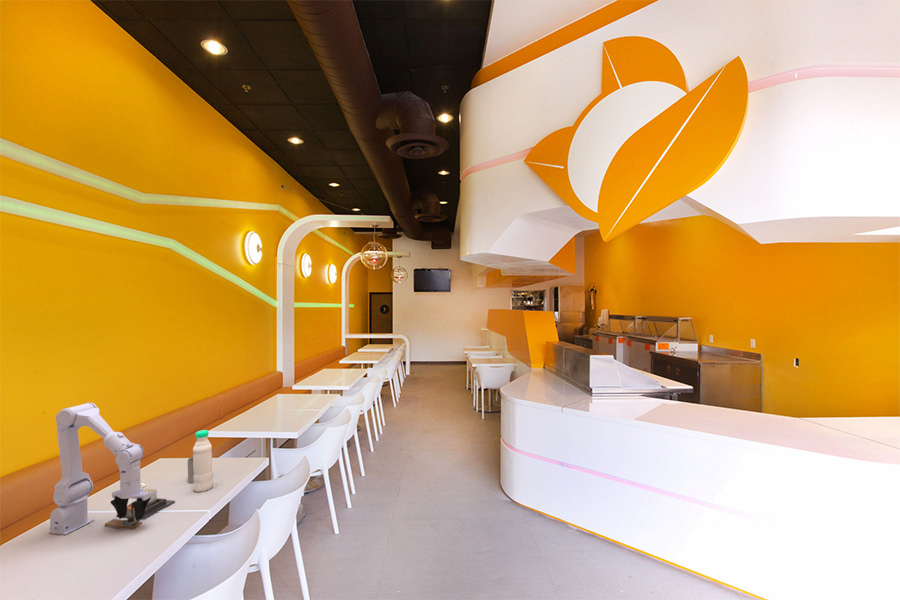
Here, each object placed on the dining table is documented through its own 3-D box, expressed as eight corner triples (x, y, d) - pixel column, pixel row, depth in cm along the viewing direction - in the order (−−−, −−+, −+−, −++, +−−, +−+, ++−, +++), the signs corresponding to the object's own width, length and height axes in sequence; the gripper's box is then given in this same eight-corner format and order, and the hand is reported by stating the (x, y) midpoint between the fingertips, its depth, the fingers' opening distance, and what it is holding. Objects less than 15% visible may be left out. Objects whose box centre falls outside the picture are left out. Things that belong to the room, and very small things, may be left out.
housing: (146, 510, 153) (145, 492, 153) (136, 509, 154) (136, 492, 154) (157, 504, 157) (156, 487, 157) (147, 504, 158) (147, 486, 158)
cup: (190, 478, 184) (189, 456, 184) (210, 474, 188) (210, 453, 188) (186, 485, 177) (186, 462, 177) (208, 481, 180) (207, 459, 180)
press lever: (130, 526, 141) (129, 506, 141) (122, 525, 142) (121, 506, 142) (140, 520, 145) (139, 501, 145) (132, 520, 145) (131, 501, 146)
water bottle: (216, 485, 175) (215, 428, 176) (205, 492, 168) (203, 433, 169) (201, 485, 176) (200, 428, 177) (189, 492, 169) (188, 433, 170)
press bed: (144, 519, 148) (144, 513, 148) (116, 517, 150) (116, 510, 150) (175, 502, 160) (174, 496, 160) (148, 500, 163) (148, 494, 163)
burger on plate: (116, 499, 166) (116, 486, 166) (113, 491, 174) (112, 478, 175) (151, 489, 175) (151, 477, 175) (146, 481, 183) (146, 469, 183)
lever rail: (133, 529, 141) (133, 526, 141) (104, 526, 144) (104, 523, 144) (142, 524, 144) (142, 521, 144) (113, 521, 147) (113, 518, 147)
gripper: (157, 476, 146) (157, 513, 146) (125, 474, 149) (125, 511, 149) (138, 485, 139) (139, 524, 139) (105, 483, 142) (106, 521, 142)
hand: (131, 518), depth 143 cm, fingers open, 7 cm apart
